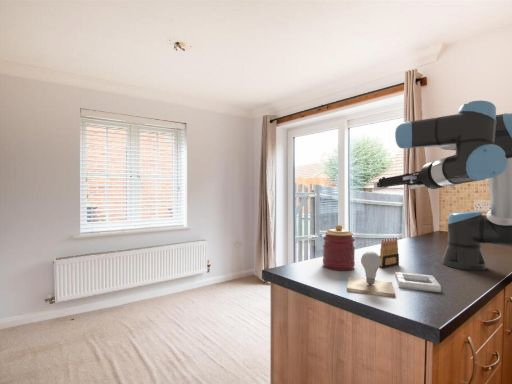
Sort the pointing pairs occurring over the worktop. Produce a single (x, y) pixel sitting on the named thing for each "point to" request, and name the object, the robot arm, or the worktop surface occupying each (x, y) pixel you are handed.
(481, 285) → the worktop surface
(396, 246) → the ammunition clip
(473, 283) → the worktop surface
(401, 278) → the collar holder
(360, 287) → the birch board
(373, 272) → the lightbulb
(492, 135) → the robot arm
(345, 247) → the canister
